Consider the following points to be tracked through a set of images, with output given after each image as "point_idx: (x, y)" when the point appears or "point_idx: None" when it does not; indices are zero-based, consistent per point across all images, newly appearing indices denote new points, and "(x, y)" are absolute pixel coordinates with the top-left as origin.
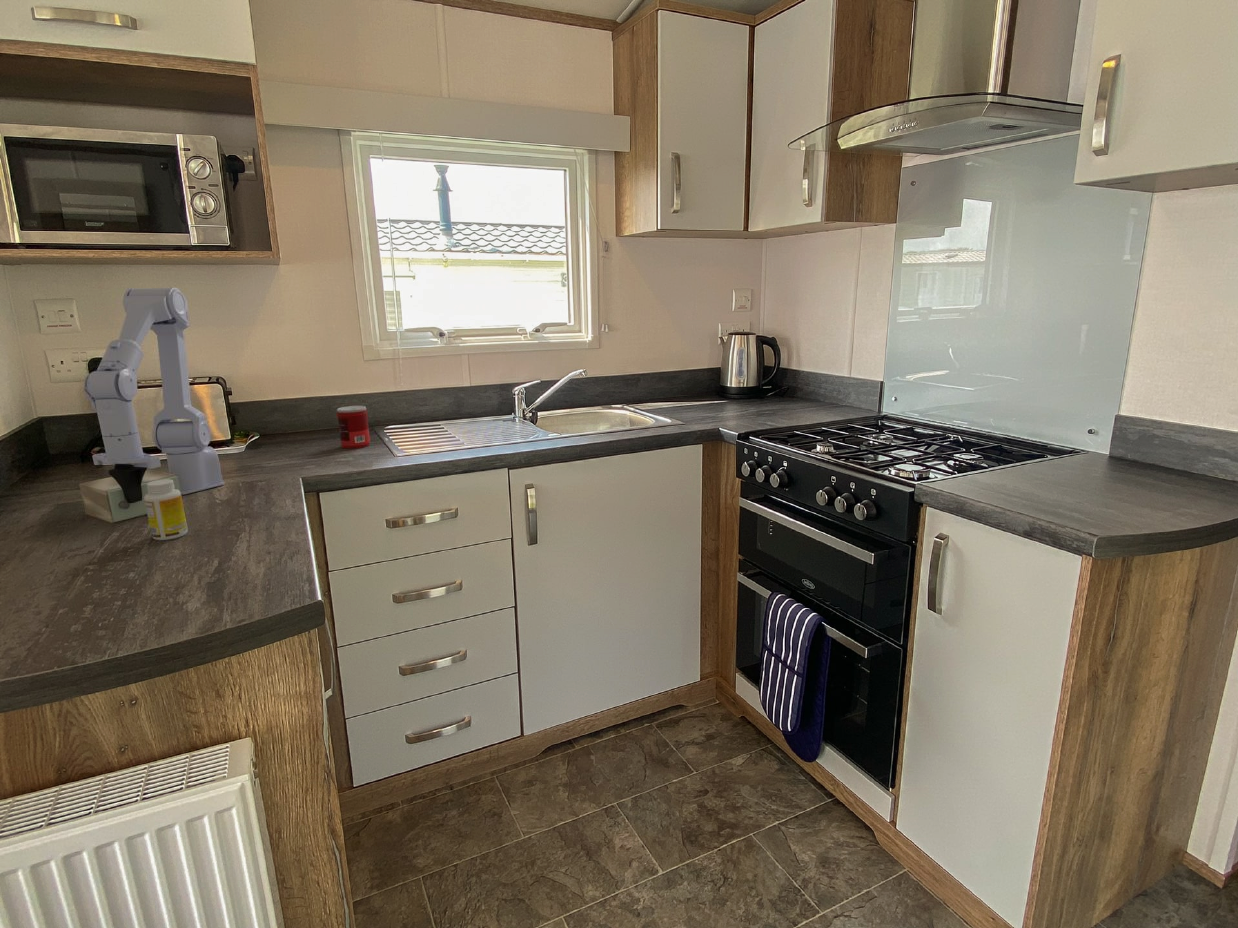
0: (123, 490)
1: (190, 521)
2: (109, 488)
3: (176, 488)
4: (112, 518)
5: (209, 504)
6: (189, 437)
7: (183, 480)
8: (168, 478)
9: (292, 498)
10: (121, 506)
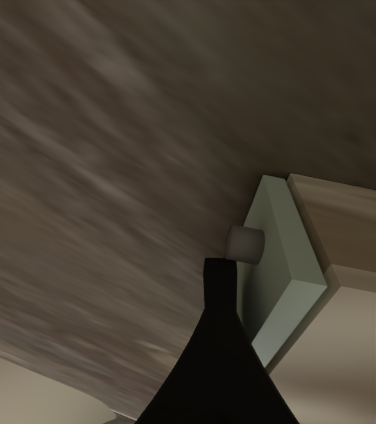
0: (229, 309)
1: (33, 241)
2: (362, 320)
3: None
4: (291, 184)
5: (149, 332)
6: None
7: None
8: None
9: (26, 366)
10: (237, 228)
